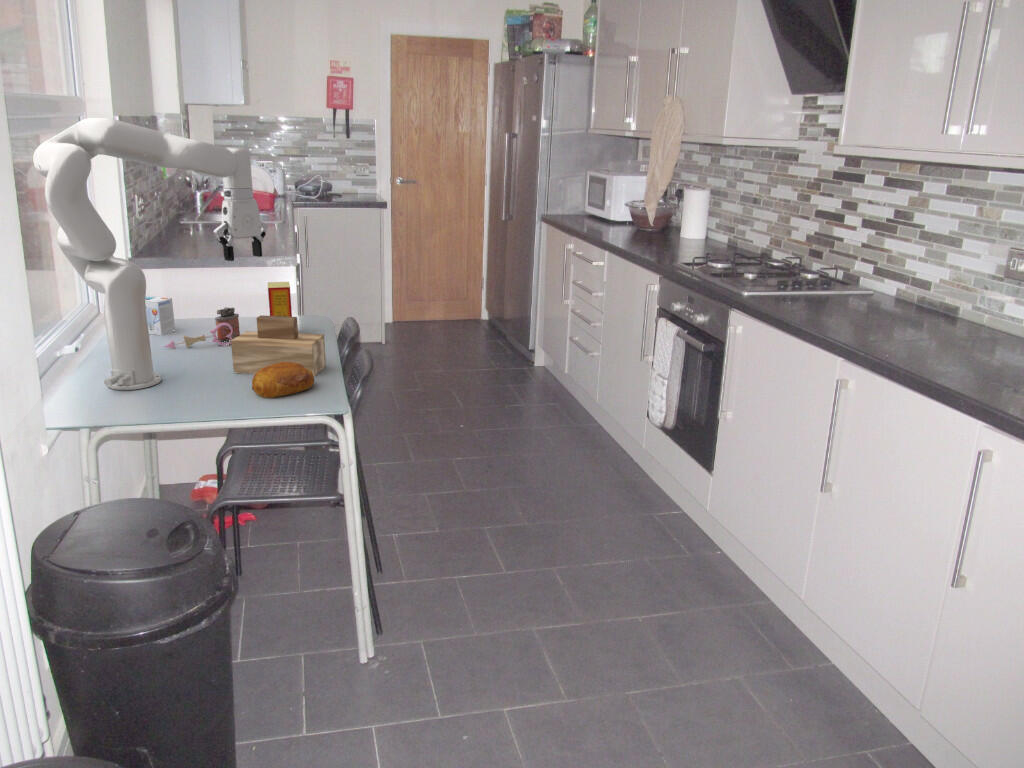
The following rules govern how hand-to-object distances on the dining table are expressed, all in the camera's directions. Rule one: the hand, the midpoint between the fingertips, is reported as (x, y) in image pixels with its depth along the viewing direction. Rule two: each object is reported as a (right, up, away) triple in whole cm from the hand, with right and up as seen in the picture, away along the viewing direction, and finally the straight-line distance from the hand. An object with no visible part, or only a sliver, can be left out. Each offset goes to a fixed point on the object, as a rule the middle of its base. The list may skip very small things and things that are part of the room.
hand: (243, 258), depth 225 cm
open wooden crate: (+11, -31, -3) cm, 33 cm away
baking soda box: (+1, -19, +34) cm, 39 cm away
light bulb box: (-39, -18, +34) cm, 55 cm away
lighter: (-13, -21, +26) cm, 36 cm away
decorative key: (-19, -24, +18) cm, 35 cm away
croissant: (+16, -36, -19) cm, 44 cm away
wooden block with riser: (+11, -23, -6) cm, 26 cm away
